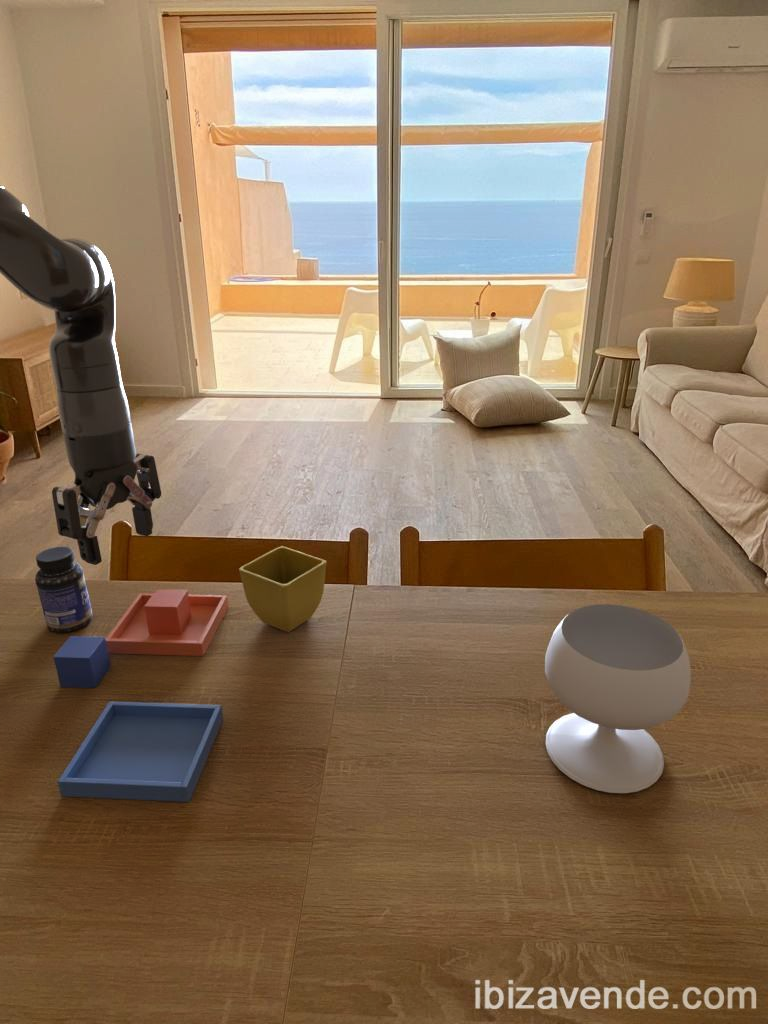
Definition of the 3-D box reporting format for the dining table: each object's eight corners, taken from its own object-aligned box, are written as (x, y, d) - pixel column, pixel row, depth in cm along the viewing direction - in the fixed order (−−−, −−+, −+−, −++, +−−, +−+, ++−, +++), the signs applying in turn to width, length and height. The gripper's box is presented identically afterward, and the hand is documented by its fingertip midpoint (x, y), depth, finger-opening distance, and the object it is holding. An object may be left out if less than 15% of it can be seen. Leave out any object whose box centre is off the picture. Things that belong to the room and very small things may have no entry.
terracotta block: (149, 634, 95) (143, 606, 93) (160, 616, 99) (156, 589, 97) (181, 635, 95) (176, 607, 93) (191, 617, 99) (187, 590, 97)
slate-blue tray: (61, 796, 70) (57, 781, 69) (112, 714, 81) (109, 701, 80) (189, 802, 69) (186, 787, 68) (223, 718, 80) (221, 705, 79)
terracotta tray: (106, 653, 92) (103, 640, 91) (141, 604, 103) (139, 593, 102) (203, 656, 91) (201, 643, 90) (228, 606, 102) (227, 595, 102)
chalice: (525, 780, 71) (536, 659, 65) (548, 697, 83) (559, 588, 77) (671, 820, 66) (699, 694, 60) (673, 726, 78) (696, 612, 72)
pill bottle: (98, 625, 98) (83, 556, 94) (52, 639, 95) (34, 568, 91) (87, 606, 103) (72, 539, 99) (43, 619, 100) (26, 551, 95)
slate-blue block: (60, 687, 86) (52, 657, 84) (77, 664, 90) (70, 635, 88) (95, 688, 85) (88, 658, 84) (111, 666, 90) (104, 636, 88)
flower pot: (285, 597, 104) (281, 544, 101) (330, 615, 100) (327, 560, 96) (243, 624, 98) (237, 568, 94) (289, 644, 93) (284, 586, 90)
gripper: (118, 405, 88) (138, 521, 95) (21, 436, 76) (51, 566, 83) (164, 411, 85) (181, 531, 91) (70, 445, 73) (97, 580, 80)
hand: (119, 548), depth 87 cm, fingers open, 8 cm apart
